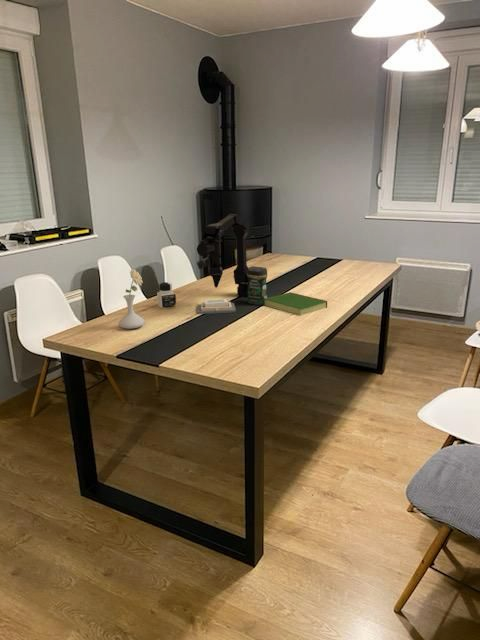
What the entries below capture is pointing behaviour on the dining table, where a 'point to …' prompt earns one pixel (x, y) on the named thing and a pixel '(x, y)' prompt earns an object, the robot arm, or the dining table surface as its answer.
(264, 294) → the coffee jar
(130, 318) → the flower in vase
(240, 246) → the robot arm
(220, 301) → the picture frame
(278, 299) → the hardcover book
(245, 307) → the dining table surface
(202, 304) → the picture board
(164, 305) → the medicine bottle
